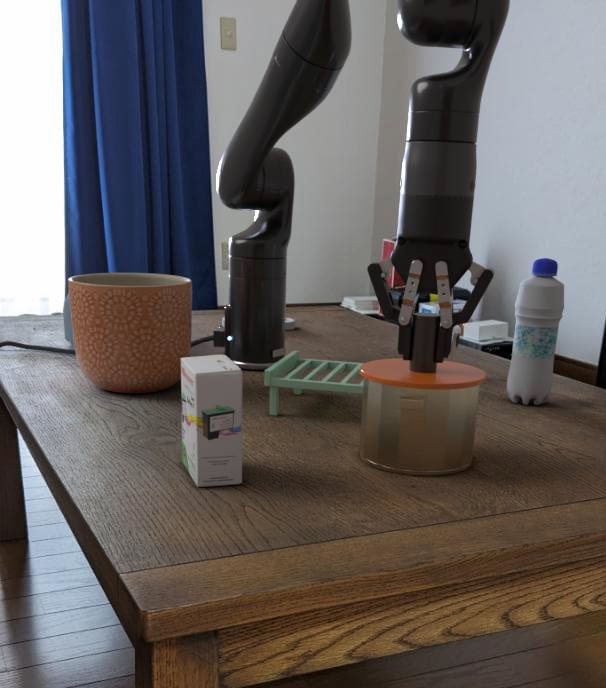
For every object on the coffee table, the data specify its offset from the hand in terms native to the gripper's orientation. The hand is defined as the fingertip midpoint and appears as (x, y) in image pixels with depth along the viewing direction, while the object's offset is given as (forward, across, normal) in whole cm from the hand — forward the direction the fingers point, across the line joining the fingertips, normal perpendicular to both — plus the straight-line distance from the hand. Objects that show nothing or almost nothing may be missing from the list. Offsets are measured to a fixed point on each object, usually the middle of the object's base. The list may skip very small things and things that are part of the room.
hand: (423, 359), depth 98 cm
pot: (+11, 0, 0) cm, 11 cm away
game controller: (+12, +42, -79) cm, 90 cm away
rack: (+11, +14, -20) cm, 27 cm away
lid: (+2, 0, 0) cm, 2 cm away
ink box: (+11, +20, +13) cm, 26 cm away
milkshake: (+11, +1, -44) cm, 45 cm away
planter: (+11, +44, -22) cm, 50 cm away
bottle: (+11, -12, -34) cm, 38 cm away
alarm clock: (+12, +59, -50) cm, 78 cm away
